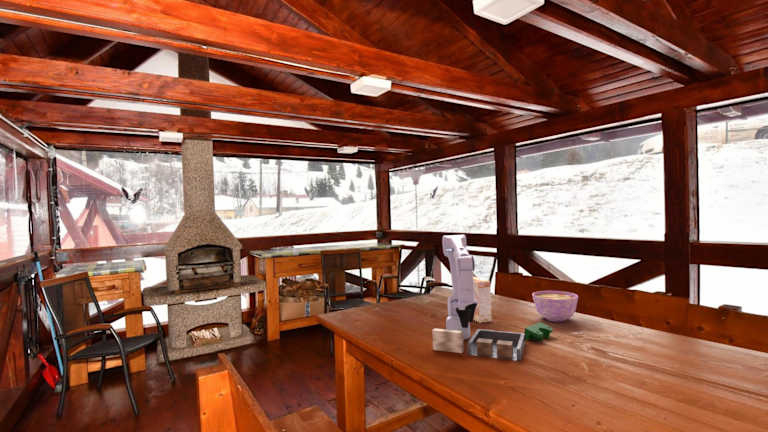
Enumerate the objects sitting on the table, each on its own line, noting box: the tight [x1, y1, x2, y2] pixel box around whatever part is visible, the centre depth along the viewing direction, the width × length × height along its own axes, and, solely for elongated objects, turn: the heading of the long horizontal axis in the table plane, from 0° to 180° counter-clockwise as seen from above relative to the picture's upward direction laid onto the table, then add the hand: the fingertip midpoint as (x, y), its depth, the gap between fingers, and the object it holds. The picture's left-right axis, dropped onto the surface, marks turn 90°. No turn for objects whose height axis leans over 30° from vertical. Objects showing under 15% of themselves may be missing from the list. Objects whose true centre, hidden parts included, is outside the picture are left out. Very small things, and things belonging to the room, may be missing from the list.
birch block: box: [431, 328, 465, 354], centre depth 140 cm, size 11×2×8 cm, turn 64°
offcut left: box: [477, 338, 493, 356], centre depth 135 cm, size 5×4×4 cm
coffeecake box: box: [473, 276, 492, 324], centre depth 184 cm, size 15×7×20 cm, turn 17°
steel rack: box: [467, 328, 526, 362], centre depth 139 cm, size 18×18×5 cm
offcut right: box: [497, 340, 513, 358], centre depth 132 cm, size 5×4×4 cm
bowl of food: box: [531, 290, 579, 323], centre depth 177 cm, size 20×20×12 cm
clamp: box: [523, 321, 554, 342], centre depth 149 cm, size 12×6×9 cm, turn 121°
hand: (467, 324), depth 139 cm, fingers open, 7 cm apart
